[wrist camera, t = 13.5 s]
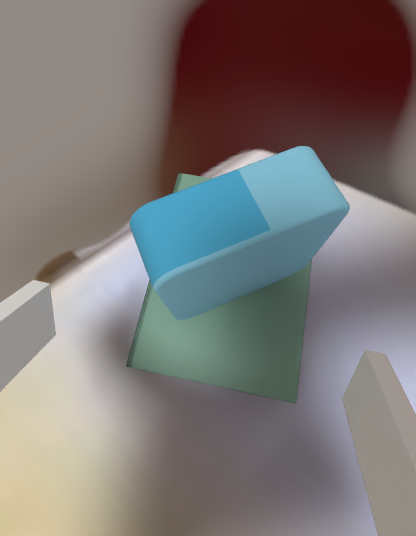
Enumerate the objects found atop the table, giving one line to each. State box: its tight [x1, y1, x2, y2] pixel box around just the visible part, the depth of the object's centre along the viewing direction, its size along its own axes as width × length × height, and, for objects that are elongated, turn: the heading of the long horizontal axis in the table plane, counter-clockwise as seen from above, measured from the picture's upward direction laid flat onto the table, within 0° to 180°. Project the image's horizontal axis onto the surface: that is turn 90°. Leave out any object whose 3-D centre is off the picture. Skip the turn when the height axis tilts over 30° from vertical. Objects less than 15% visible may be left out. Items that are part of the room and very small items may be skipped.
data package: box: [130, 146, 350, 320], centre depth 22 cm, size 12×4×12 cm, turn 113°
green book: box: [126, 173, 312, 403], centre depth 30 cm, size 14×19×4 cm
